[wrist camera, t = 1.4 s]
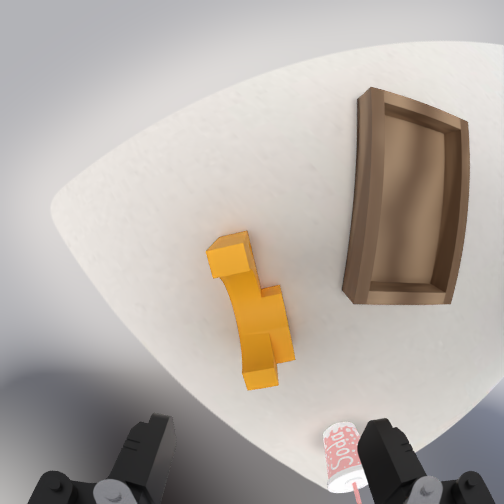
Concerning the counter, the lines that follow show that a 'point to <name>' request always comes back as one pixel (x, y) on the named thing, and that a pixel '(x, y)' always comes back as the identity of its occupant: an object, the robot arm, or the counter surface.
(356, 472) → the beverage cup
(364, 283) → the wooden tray
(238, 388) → the counter surface
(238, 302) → the pipe clamp
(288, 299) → the counter surface
